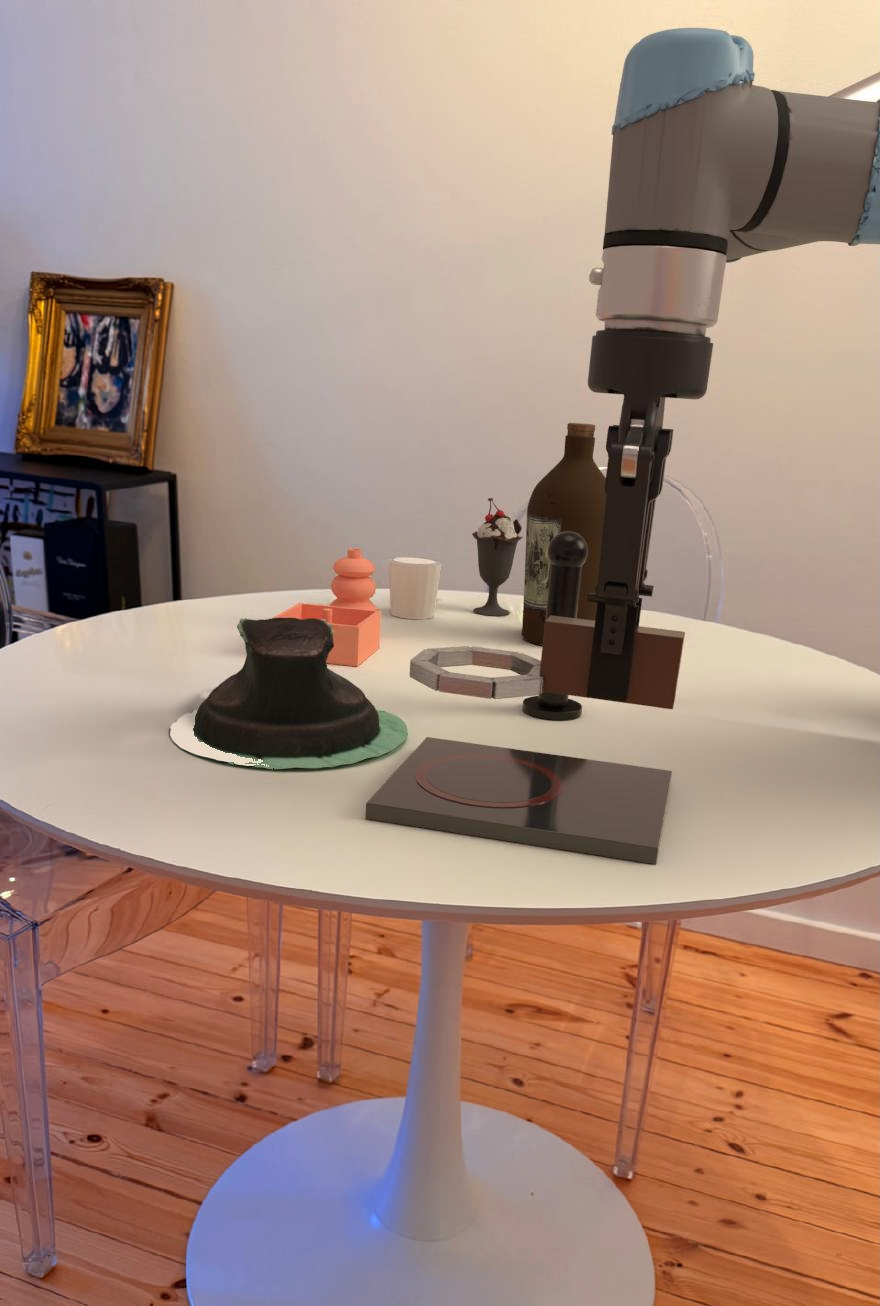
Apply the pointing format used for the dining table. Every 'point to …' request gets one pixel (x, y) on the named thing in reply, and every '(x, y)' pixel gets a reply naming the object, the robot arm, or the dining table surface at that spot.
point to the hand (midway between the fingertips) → (609, 691)
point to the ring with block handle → (557, 666)
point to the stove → (528, 799)
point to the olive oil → (564, 527)
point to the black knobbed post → (562, 601)
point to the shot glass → (413, 586)
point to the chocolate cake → (293, 703)
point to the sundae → (496, 556)
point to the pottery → (348, 611)
